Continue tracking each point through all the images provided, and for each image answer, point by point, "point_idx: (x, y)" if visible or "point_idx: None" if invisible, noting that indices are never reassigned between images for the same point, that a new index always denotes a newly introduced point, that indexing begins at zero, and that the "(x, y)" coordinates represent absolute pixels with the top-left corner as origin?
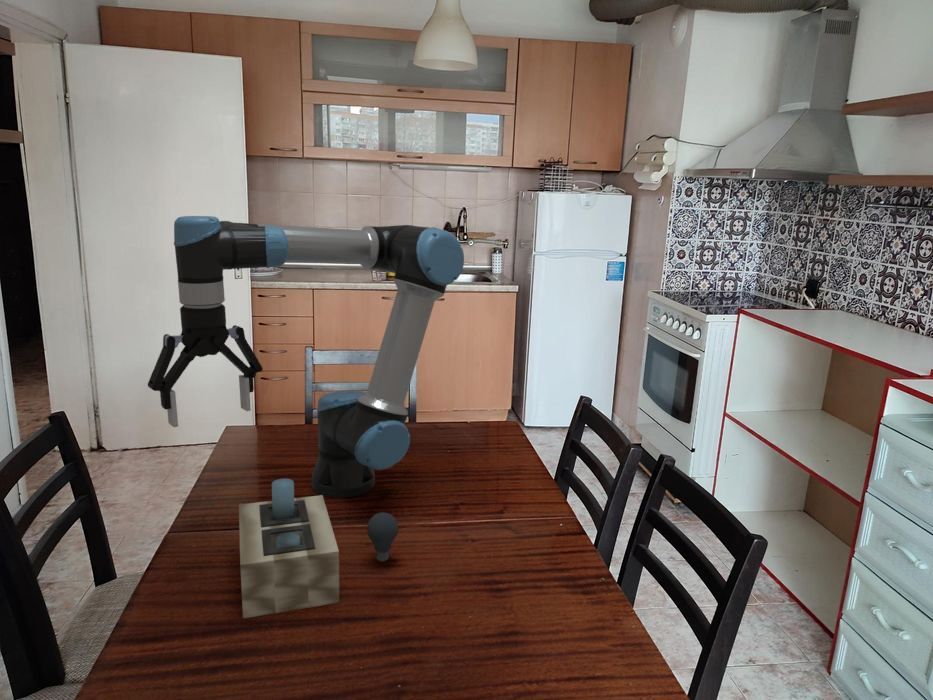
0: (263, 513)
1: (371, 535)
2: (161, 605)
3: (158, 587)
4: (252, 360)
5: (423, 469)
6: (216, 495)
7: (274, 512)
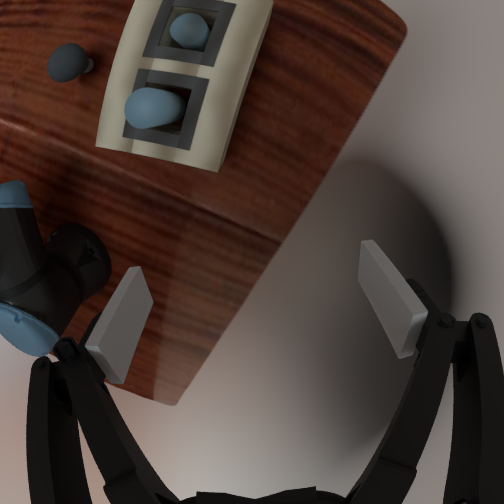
0: (192, 117)
1: (83, 51)
2: (339, 96)
3: (333, 132)
4: (42, 402)
5: None
6: (216, 303)
7: (177, 101)
